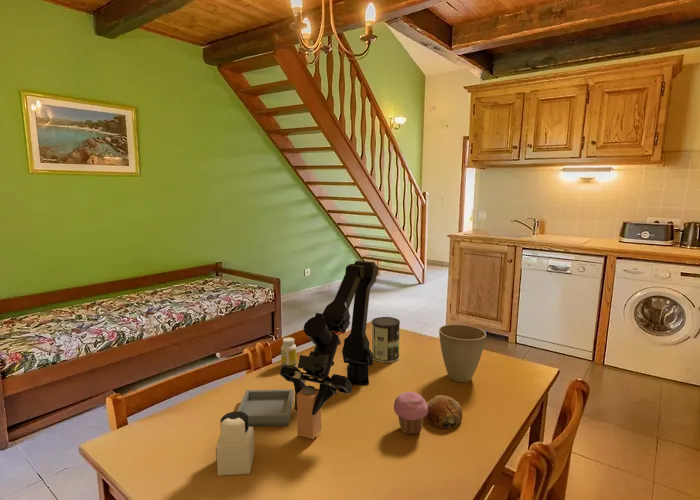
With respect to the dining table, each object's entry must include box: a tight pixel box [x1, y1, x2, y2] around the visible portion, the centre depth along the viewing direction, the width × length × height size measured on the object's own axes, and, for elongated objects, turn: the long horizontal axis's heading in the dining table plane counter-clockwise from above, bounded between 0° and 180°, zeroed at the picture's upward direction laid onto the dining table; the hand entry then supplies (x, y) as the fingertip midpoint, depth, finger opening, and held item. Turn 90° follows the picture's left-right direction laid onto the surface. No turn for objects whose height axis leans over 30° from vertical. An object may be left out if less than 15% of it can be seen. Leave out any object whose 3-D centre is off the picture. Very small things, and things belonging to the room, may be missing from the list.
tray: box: [236, 388, 295, 427], centre depth 115 cm, size 14×14×3 cm
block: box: [296, 385, 322, 440], centre depth 102 cm, size 4×4×12 cm
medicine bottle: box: [215, 410, 255, 476], centre depth 92 cm, size 7×7×12 cm
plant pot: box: [438, 323, 487, 383], centre depth 134 cm, size 15×15×16 cm
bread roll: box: [425, 394, 463, 429], centre depth 111 cm, size 10×10×8 cm
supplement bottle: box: [280, 337, 298, 367], centre depth 144 cm, size 5×5×10 cm
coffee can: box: [371, 316, 401, 364], centre depth 151 cm, size 10×10×14 cm
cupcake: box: [393, 391, 428, 435], centre depth 106 cm, size 9×9×10 cm
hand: (304, 412), depth 100 cm, fingers closed on block, 4 cm apart
